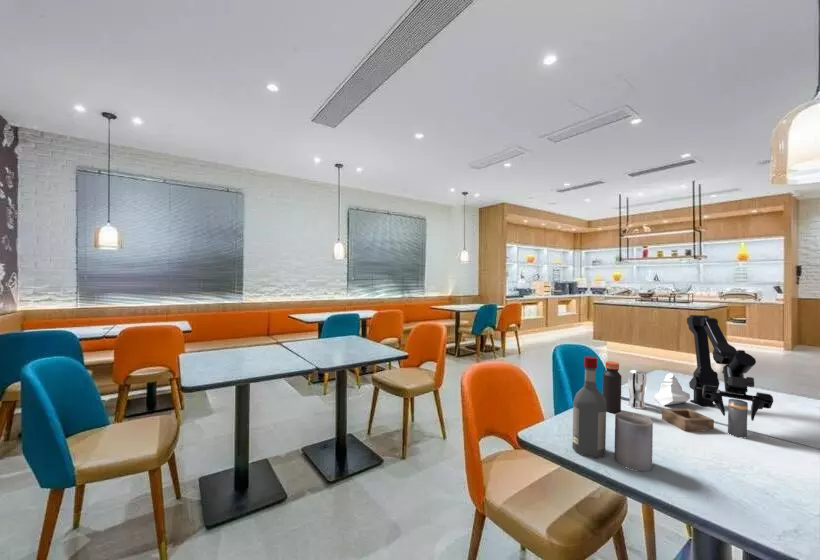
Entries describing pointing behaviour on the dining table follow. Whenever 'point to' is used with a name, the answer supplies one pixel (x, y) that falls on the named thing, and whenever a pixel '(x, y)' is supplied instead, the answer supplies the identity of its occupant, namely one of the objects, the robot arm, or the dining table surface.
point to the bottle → (612, 387)
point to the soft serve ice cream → (671, 392)
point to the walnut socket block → (687, 419)
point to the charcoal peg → (737, 417)
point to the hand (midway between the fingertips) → (738, 417)
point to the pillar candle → (633, 441)
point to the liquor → (589, 415)
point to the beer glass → (637, 388)
